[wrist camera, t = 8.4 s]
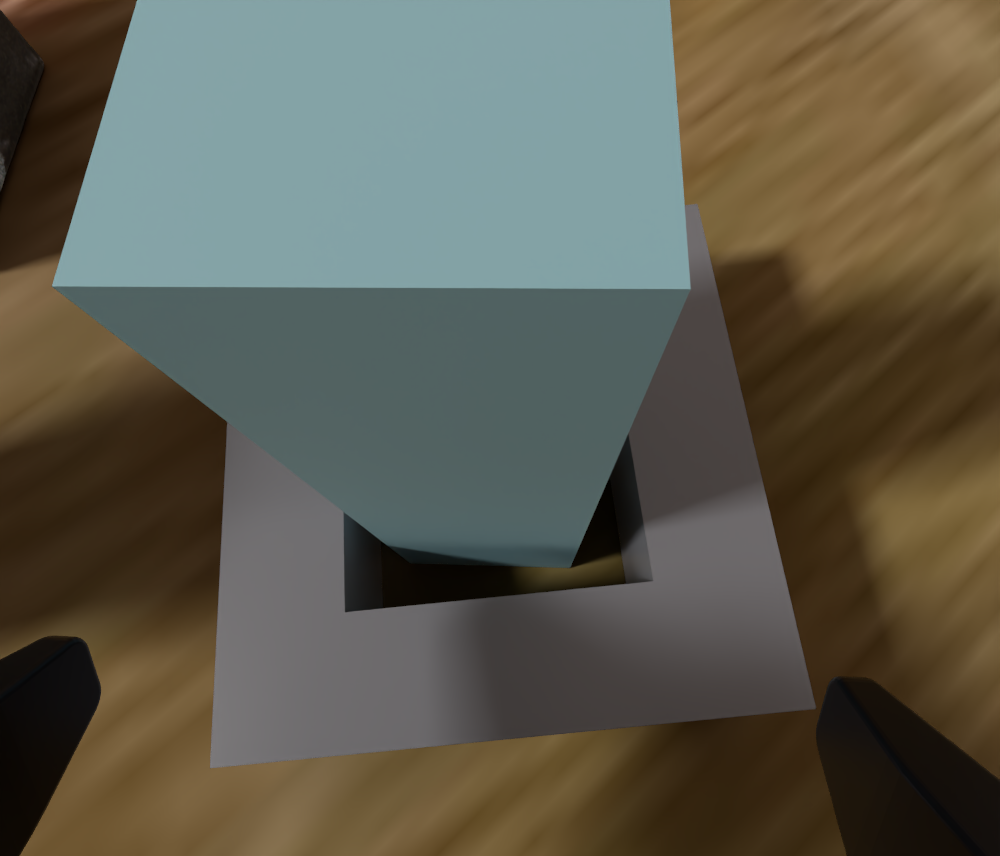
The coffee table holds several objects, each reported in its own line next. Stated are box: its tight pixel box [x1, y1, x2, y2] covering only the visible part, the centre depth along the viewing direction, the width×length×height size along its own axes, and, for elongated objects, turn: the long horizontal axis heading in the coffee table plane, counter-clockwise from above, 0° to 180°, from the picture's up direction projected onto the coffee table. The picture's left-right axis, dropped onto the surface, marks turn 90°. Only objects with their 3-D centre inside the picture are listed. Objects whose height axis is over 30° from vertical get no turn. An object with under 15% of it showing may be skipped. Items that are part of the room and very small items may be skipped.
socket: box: [210, 204, 816, 768], centre depth 15 cm, size 11×11×4 cm
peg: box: [52, 0, 691, 568], centre depth 11 cm, size 4×4×13 cm
